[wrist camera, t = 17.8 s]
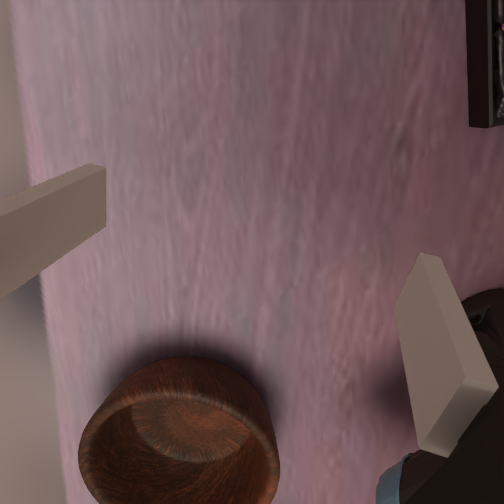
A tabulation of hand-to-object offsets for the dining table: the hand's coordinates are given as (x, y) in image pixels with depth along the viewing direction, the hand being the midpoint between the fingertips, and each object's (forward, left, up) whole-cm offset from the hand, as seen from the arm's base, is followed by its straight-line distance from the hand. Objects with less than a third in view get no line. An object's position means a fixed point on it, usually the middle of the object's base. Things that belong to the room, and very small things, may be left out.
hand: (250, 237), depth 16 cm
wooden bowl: (+9, +37, -29) cm, 48 cm away
